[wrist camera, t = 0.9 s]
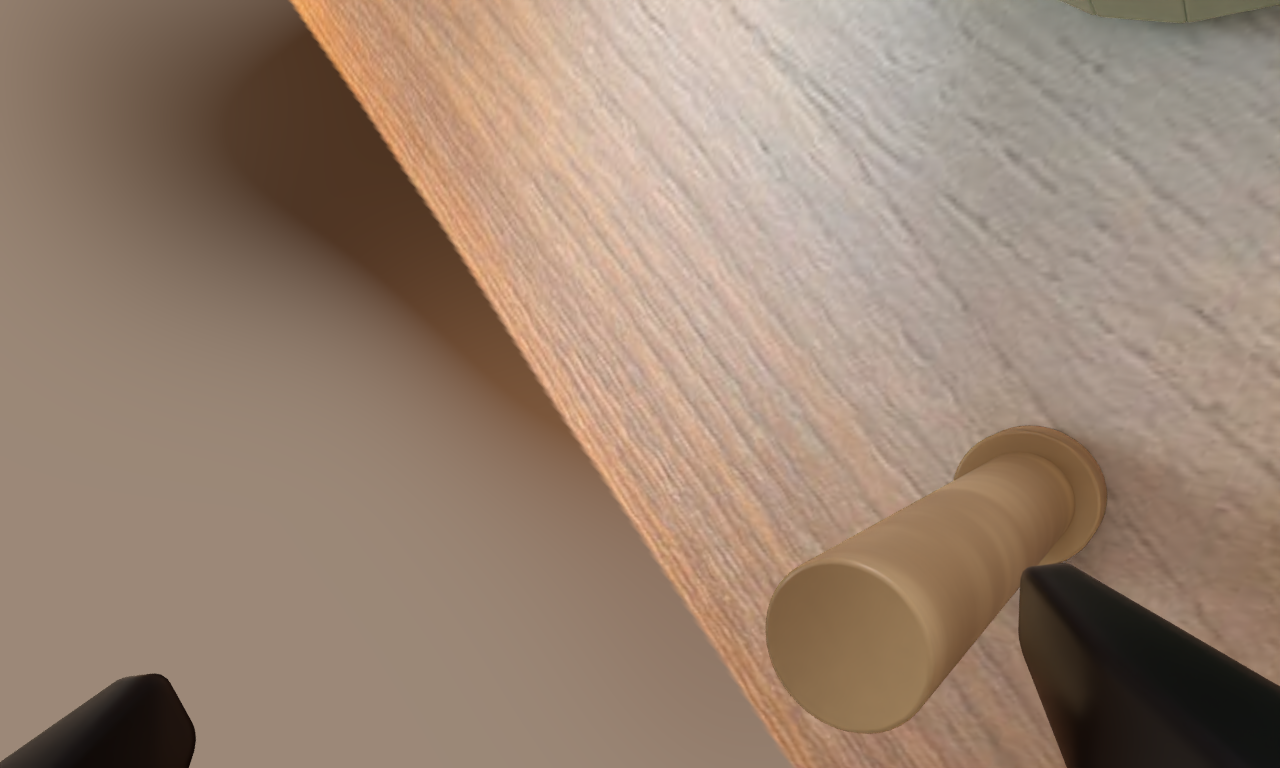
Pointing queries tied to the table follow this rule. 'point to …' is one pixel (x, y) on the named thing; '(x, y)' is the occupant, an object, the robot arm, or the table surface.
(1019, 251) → the table surface
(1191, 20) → the bowl
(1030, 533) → the handle grip
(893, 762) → the table surface
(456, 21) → the table surface
